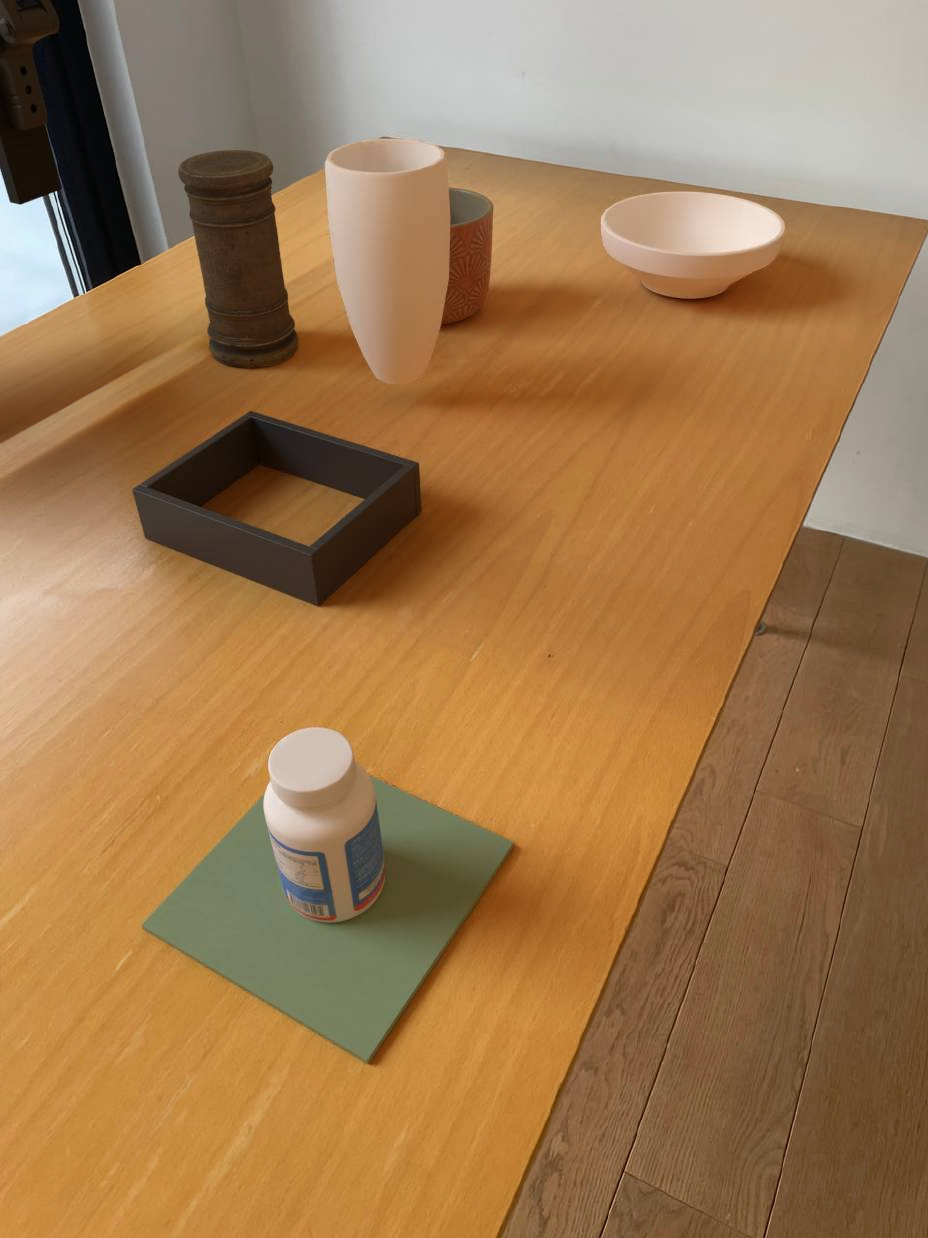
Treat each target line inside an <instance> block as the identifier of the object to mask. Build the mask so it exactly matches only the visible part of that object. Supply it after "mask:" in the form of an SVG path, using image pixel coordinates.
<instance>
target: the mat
mask: <svg viewBox="0 0 928 1238" xmlns="http://www.w3.org/2000/svg"><path fill="white" fill-rule="evenodd" d="M369 776H370V778H371V780H372V782H373V786H374V790H375V795H376V802H377V810H378V817H379V823H380V831H381V839H382V846H383V853H384V861H385V881H384V885H383V888H382V891H381V893H380V895H379V896H378V898H377V899H376V901H375V902H374V903H373V904H372V905H371V906H370V907H369V908H368V909H367V910H366V911H364V912H363V913H361V914H360V915H358V916H356V917H354V918H351V919H348V920H345V921H340V922H332V923H328V922H319V921H315V920H311V919H309V918H306V917H304V916H303V915H301V914H300V913H298V912H297V911H296V910H295V909H294V908H293V907H292V906H291V905H290V903H289V902H288V900H287V898H286V895H285V893H284V890H283V886H282V882H281V878H280V874H279V870H278V866H277V862H276V858H275V855H274V851H273V847H272V843H271V839H270V835H269V832H268V828H267V824H266V819H265V814H264V807H263V802H264V795H265V793H263V795H262V796H260V797H259V799H258V800H257V801H256V802H255V803H254V804H253V805H252V807H250V808H249V809H248V811H247V812H246V813H245V814H244V815H243V816H242V817H241V818H240V819H239V820H238V822H236V823H235V824H234V826H233V827H231V829H230V830H228V832H227V833H226V834H225V835H224V836H223V837H222V838H221V840H219V841H218V842H217V844H216V845H215V846H214V847H213V848H212V849H211V850H210V851H209V852H208V853H207V854H206V855H205V856H204V857H203V858H202V860H201V861H200V862H199V863H198V864H197V865H196V866H195V867H194V868H193V869H192V870H191V871H190V872H189V873H188V874H187V876H186V877H184V879H183V880H182V881H181V882H179V884H178V885H177V886H176V887H175V888H174V889H173V890H172V891H171V892H170V894H169V895H168V896H166V898H165V899H164V900H163V901H162V902H161V903H160V904H159V905H157V907H156V908H155V909H154V910H153V912H152V913H150V915H148V916H147V918H146V919H145V920H144V921H142V922H141V927H142V929H143V930H144V931H145V932H147V933H149V934H150V935H153V936H154V937H156V938H157V939H159V940H160V941H162V942H164V943H165V944H167V945H169V946H170V947H172V948H174V949H176V950H177V951H179V952H181V953H182V954H183V955H186V956H187V957H189V958H191V959H192V960H194V961H195V962H197V963H199V964H201V965H202V966H204V967H206V968H207V969H209V970H210V971H212V972H214V973H215V974H217V975H219V976H220V977H222V978H224V979H226V980H227V981H228V982H231V983H232V984H233V985H235V986H237V987H238V988H240V989H242V990H243V991H245V992H247V993H249V994H250V995H252V996H254V997H255V998H257V999H258V1000H261V1001H262V1002H264V1003H266V1004H267V1005H269V1006H270V1007H272V1008H273V1009H275V1010H277V1011H278V1012H280V1013H282V1014H284V1015H285V1016H287V1017H289V1018H290V1019H292V1020H294V1021H295V1022H297V1023H299V1024H300V1025H302V1026H304V1027H305V1028H307V1029H309V1030H310V1031H312V1032H314V1033H315V1034H317V1035H319V1036H320V1037H322V1038H323V1039H325V1040H326V1041H329V1042H330V1043H332V1044H333V1045H335V1046H337V1047H339V1048H340V1049H341V1050H343V1051H345V1052H347V1053H348V1054H350V1055H352V1056H353V1057H355V1058H357V1059H359V1061H361V1062H363V1063H364V1064H367V1065H369V1064H370V1062H371V1061H372V1060H373V1058H374V1056H375V1055H376V1054H377V1052H378V1050H379V1049H380V1047H381V1046H382V1044H383V1043H384V1041H385V1040H386V1039H387V1037H388V1035H389V1034H390V1033H391V1031H392V1029H393V1028H394V1026H395V1025H396V1024H397V1022H398V1021H399V1019H400V1018H401V1016H402V1015H403V1013H404V1012H405V1011H406V1009H407V1007H408V1006H409V1004H410V1003H411V1001H412V1000H413V998H414V996H415V995H416V994H417V992H418V991H419V989H420V988H421V986H422V985H423V983H424V982H425V980H426V979H427V977H428V976H429V975H430V973H431V972H432V970H433V968H434V967H435V965H436V964H437V962H438V961H439V959H441V958H440V957H441V956H442V955H443V954H444V952H445V951H446V949H447V947H448V946H449V944H450V943H451V942H452V940H453V939H454V937H455V936H456V934H457V933H458V930H459V929H460V928H461V926H462V925H463V924H464V922H465V921H466V919H467V918H468V916H469V914H470V913H471V912H472V910H473V908H474V907H475V906H476V904H477V903H478V901H479V900H480V898H481V896H482V895H483V893H484V892H485V891H486V890H487V887H488V886H489V885H490V883H491V882H492V880H493V879H494V877H495V876H496V874H497V873H498V871H499V870H500V868H501V867H502V865H503V864H504V863H505V861H506V860H507V858H508V856H509V855H510V854H511V852H512V850H513V849H514V848H515V841H513V840H510V839H508V838H506V837H504V836H501V835H499V834H497V833H496V832H493V831H490V830H488V829H487V828H484V827H482V826H480V825H478V824H476V823H474V822H471V821H469V820H467V819H465V818H463V817H460V816H458V815H457V814H454V813H452V812H450V811H447V810H446V809H443V808H442V807H440V806H437V805H435V804H432V803H430V802H429V801H426V800H423V799H422V798H420V797H417V796H416V795H413V794H411V793H408V792H407V791H404V790H403V789H400V788H398V787H395V786H394V785H392V784H390V783H388V782H385V781H383V780H381V779H379V778H376V777H375V776H373V775H370V774H369Z"/></svg>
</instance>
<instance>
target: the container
mask: <svg viewBox="0 0 928 1238" xmlns="http://www.w3.org/2000/svg"><path fill="white" fill-rule="evenodd" d="M273 172H274V164H273V162H272V160H271V158H270V157H269V156H268V155H267V154H264V153H262V152H259V151H253V150H246V149H245V150H244V149H226V150H225V149H224V150H215V151H209V152H204V153H199V154H196V155H193V156H190V157H188V158H186V159H184V160H182V161H181V162H180V164H179V165H178V172H177V173H178V177H179V180H180V182H181V183H183V184H184V187H183V189H184V192H185V193H186V196H187V198H188V205H189V213H188V214H189V215H188V216H189V219H190V220H191V224H192V230H193V235H194V240H195V246H196V251H197V256H198V260H199V266H200V271H201V276H202V281H203V288H204V294H205V298H204V304H205V308H206V310H207V315H208V320H209V323H208V327H207V335H208V337H209V340H208V348H209V351H210V353H211V355H212V357H213V358H214V359H215V360H216V361H217V362H219V363H221V364H223V365H226V366H228V367H235V368H243V369H252V368H253V369H255V368H264V367H265V368H266V367H270V366H274V365H277V364H280V363H283V362H284V361H287V360H288V359H290V358H291V357H292V356H293V355H295V354H296V353H297V351H298V347H299V336H298V333H297V331H296V329H295V327H296V322H295V319H294V317H292V314H291V313H290V305H289V294H288V291H287V290H288V289H286V285H285V280H284V279H285V278H284V271H283V265H282V258H281V249H280V240H279V234H278V227H277V219H276V206H275V203H274V201H273V197H272V196H273V195H272V188H273V187H272V186H273V179H272V177H271V176H272V174H273Z"/></svg>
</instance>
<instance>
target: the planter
mask: <svg viewBox="0 0 928 1238" xmlns="http://www.w3.org/2000/svg"><path fill="white" fill-rule="evenodd" d="M449 203H450V255H449V281H448V286H447V292H446V298H445V304H444V309H443V315H442V321H441V325H446V324H452V323H457V322H460V321H463V320H465V319H468V318H469V317H471V316H473V315H474V314H476V313H477V312H478V311H479V310H481V308H482V307H483V306H484V304H485V303H486V300H487V297H488V293H489V288H490V281H491V271H492V256H493V255H492V254H493V232H494V231H493V230H494V228H493V227H494V204H493V202H492V201H491V199H490V198H488V197H487V196H485V195H484V194H482V193H479V192H476V191H474V190H469V189H465V188H459V187H451V186H449Z"/></svg>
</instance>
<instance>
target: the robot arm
mask: <svg viewBox="0 0 928 1238" xmlns="http://www.w3.org/2000/svg"><path fill="white" fill-rule="evenodd" d="M20 2H22V4H23V6H24V7H20V6H19V4H18V3H20ZM59 30H60V20H59V16H58V13H57V11H56V10H55V8H54V6H53V3H52V2H51V0H0V174H1V176H2V181H3V184H4V186H5V190H6V193H7V197H8V200H9V203H11V204H16V205H20V206H21V205H24V204H26V203H30V202H33V201H34V200H37V199H40V198H42V197H46V196H48V195H50V194H53V193H56V192H58V191H61V190H63V187H62V183H61V179H60V176H59V172H58V168H57V163H56V160H55V156H54V152H53V149H52V144H51V140H50V137H49V133H48V129H47V124H48V111H47V106H46V103H45V100H44V95H43V91H42V90H41V89H42V87H41V83H40V80H39V76H38V72H37V69H36V64H35V60H34V55H33V46H34V45H35V44H36V42H37V41H39V40H41V39H43V38H45V37H47V36H49V35H50V36H51V35H53V34H56V33H57V34H58V31H59Z"/></svg>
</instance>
